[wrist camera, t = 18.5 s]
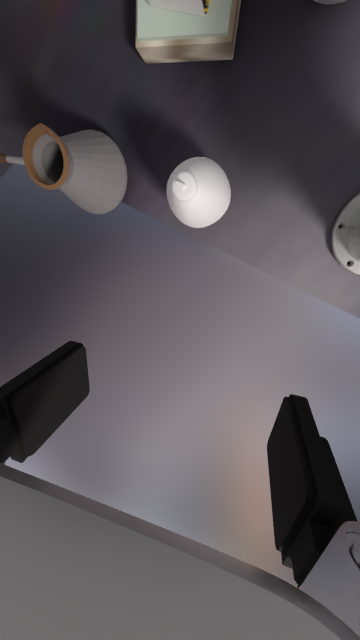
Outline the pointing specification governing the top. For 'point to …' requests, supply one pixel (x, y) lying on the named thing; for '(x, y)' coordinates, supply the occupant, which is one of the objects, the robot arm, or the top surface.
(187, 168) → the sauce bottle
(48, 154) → the coffee pot
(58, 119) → the top surface
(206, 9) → the medicine bottle
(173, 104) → the top surface
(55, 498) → the robot arm
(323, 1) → the saucepan
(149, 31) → the plinth
